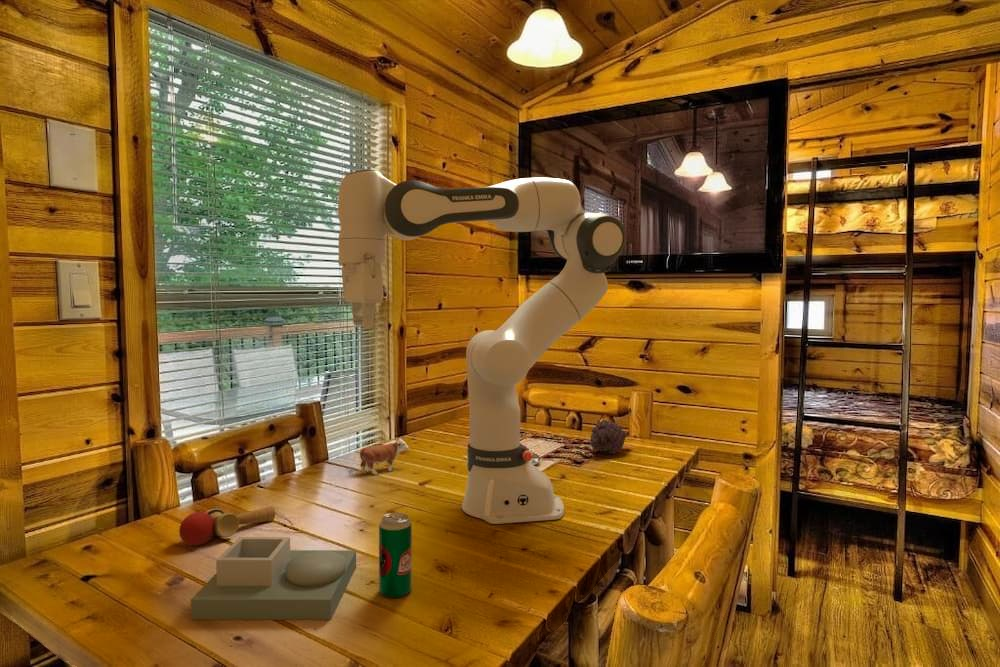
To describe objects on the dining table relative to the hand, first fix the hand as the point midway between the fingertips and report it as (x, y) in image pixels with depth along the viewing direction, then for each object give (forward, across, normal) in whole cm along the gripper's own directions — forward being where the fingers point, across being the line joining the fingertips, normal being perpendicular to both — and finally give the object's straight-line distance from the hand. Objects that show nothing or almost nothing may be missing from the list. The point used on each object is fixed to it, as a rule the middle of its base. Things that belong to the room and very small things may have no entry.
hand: (362, 326), depth 114 cm
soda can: (+41, -27, +1) cm, 49 cm away
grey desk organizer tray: (+40, -20, +17) cm, 48 cm away
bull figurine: (+41, +35, -12) cm, 55 cm away
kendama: (+41, +8, +25) cm, 48 cm away
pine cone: (+41, +26, -77) cm, 91 cm away
